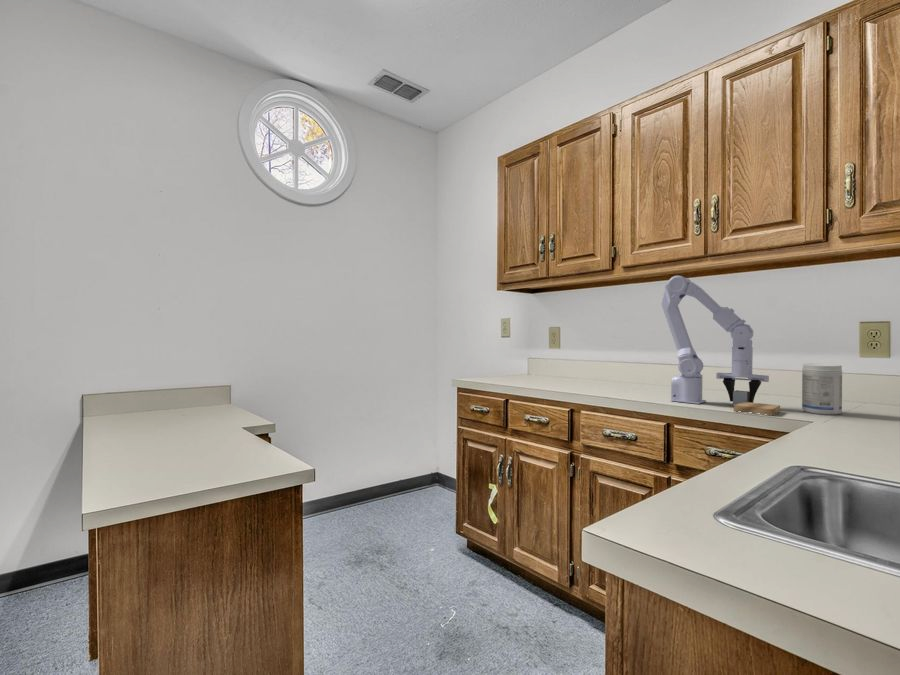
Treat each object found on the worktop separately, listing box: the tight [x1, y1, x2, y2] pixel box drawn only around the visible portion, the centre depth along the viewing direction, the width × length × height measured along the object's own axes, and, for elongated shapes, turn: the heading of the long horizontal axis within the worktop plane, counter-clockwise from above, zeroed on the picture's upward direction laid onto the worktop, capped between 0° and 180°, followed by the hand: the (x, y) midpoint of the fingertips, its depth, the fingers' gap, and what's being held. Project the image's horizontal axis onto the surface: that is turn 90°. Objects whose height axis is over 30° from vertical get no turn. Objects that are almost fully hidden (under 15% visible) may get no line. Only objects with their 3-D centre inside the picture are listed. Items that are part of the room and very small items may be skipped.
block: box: [732, 389, 750, 407], centre depth 151 cm, size 4×4×5 cm
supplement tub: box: [801, 362, 843, 416], centre depth 141 cm, size 10×10×15 cm
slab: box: [733, 402, 781, 416], centre depth 142 cm, size 10×10×2 cm
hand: (741, 402), depth 152 cm, fingers open, 5 cm apart
